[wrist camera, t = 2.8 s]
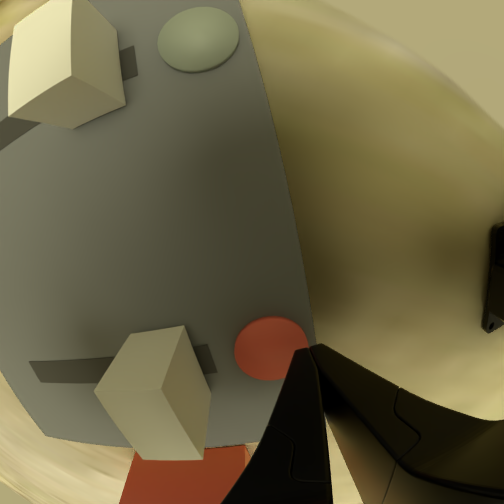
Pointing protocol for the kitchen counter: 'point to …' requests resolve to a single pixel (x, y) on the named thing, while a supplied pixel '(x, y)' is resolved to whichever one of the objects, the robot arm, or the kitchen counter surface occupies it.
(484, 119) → the kitchen counter surface
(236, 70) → the breaker panel
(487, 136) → the kitchen counter surface
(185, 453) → the block
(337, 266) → the kitchen counter surface
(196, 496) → the cap
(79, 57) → the block
